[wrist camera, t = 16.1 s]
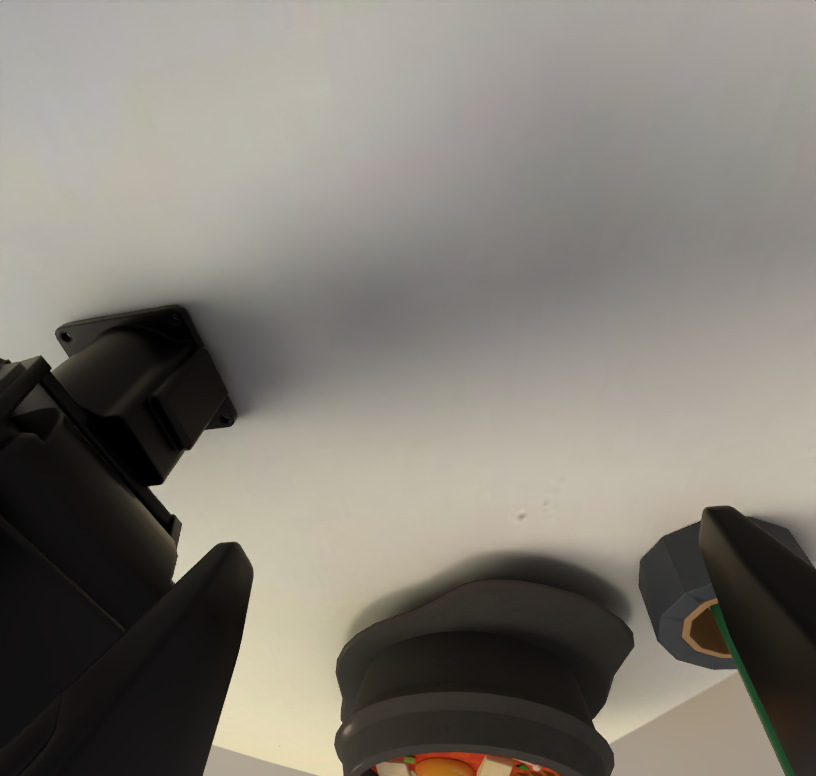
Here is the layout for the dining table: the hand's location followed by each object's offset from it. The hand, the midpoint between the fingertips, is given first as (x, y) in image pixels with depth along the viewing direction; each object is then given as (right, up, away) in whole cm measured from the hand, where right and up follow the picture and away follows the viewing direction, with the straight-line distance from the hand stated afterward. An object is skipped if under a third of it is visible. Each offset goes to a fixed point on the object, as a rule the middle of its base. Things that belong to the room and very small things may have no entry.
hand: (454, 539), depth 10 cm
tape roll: (+17, -7, +19) cm, 26 cm away
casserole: (+3, -17, +27) cm, 32 cm away
